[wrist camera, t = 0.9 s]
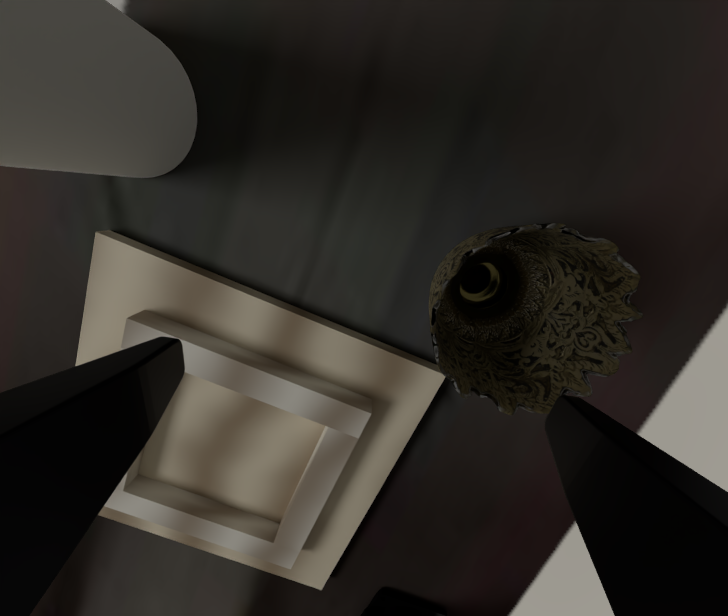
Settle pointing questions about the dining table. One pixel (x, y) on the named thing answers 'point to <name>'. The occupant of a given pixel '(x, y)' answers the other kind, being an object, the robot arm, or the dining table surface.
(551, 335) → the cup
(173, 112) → the cylindrical container
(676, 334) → the dining table surface
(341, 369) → the docking plate
